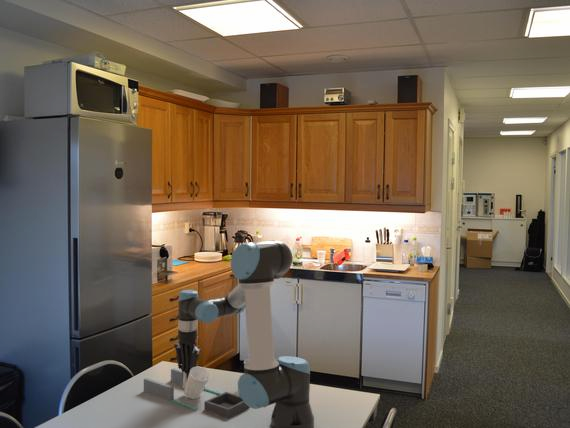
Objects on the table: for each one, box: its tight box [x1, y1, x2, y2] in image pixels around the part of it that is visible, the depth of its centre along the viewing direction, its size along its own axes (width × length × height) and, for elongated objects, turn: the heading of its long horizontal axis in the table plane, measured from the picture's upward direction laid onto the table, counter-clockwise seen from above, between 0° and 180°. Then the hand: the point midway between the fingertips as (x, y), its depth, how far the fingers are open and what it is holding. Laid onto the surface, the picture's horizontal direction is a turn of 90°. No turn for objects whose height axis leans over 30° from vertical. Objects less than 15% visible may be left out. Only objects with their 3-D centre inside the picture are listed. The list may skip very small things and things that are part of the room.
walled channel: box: [143, 367, 183, 402], centre depth 215 cm, size 16×16×5 cm
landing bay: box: [171, 387, 222, 411], centre depth 206 cm, size 13×17×1 cm
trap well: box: [203, 391, 250, 419], centre depth 198 cm, size 12×12×3 cm
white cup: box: [183, 366, 210, 400], centre depth 207 cm, size 8×8×10 cm
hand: (186, 387), depth 211 cm, fingers closed
